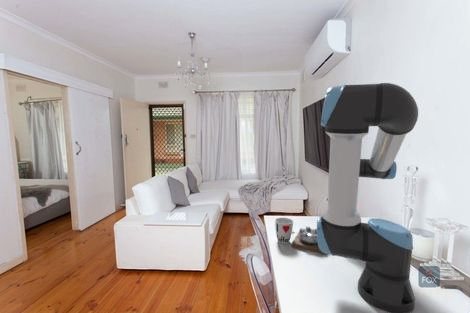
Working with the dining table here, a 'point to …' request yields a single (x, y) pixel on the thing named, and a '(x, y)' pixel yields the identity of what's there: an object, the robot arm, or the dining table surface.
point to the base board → (305, 246)
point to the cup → (283, 229)
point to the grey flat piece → (308, 236)
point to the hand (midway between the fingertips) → (339, 233)
